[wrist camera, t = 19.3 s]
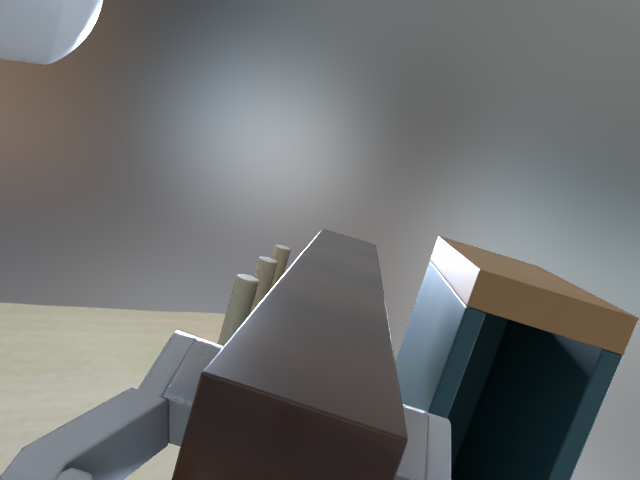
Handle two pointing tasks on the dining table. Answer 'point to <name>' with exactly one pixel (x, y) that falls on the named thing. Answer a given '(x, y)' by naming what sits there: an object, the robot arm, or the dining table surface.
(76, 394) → the dining table surface
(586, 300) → the plate rack
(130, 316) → the dining table surface
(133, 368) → the dining table surface
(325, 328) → the block
